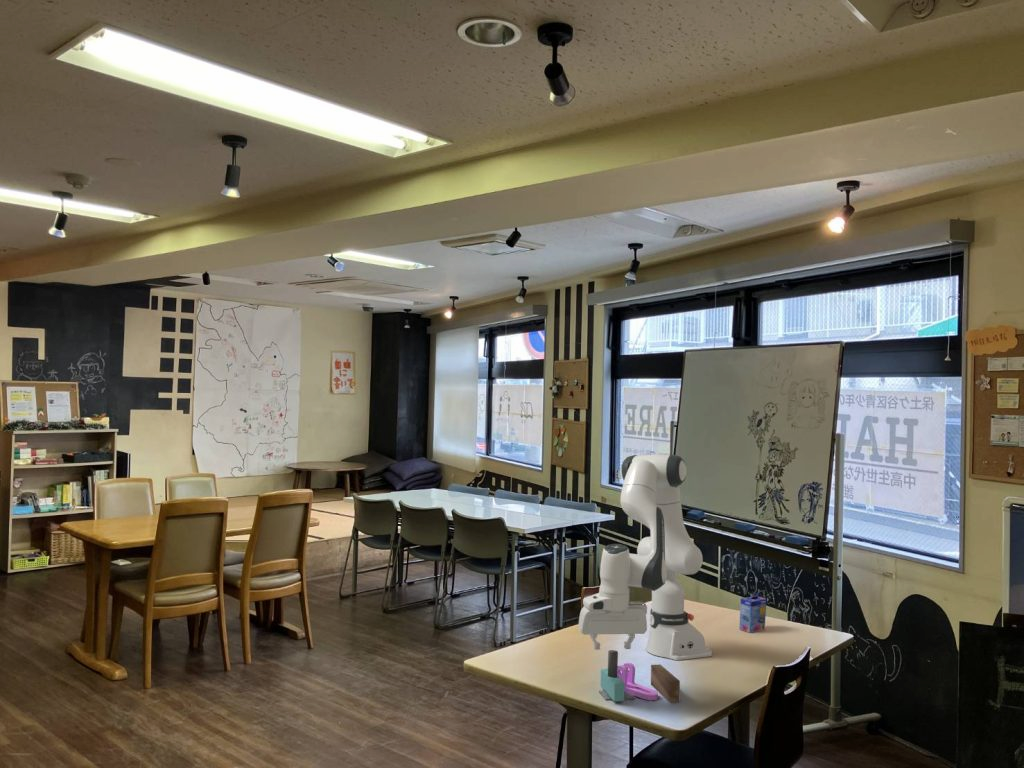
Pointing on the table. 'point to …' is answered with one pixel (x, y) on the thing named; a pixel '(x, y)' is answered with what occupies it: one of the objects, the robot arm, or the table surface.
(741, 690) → the table surface
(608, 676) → the clamp jaw
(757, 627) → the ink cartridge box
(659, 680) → the base
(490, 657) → the table surface
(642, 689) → the bracket
